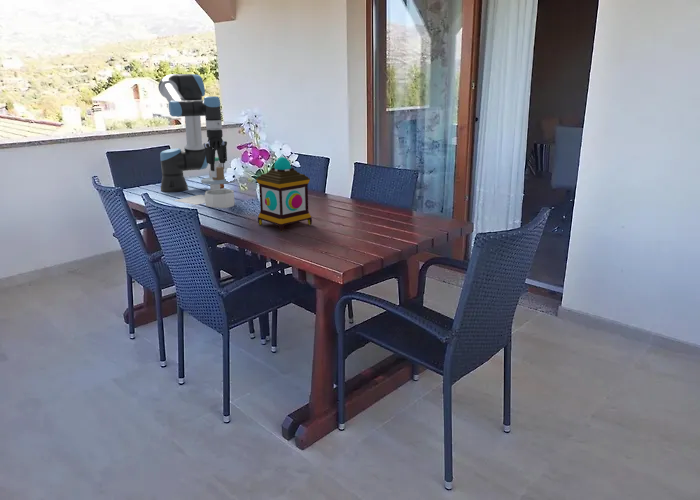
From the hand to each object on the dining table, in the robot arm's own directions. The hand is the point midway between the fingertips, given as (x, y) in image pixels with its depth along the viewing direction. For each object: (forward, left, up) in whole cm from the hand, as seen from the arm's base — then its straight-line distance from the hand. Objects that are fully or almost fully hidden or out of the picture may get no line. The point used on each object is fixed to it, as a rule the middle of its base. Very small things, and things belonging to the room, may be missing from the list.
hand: (218, 176), depth 255 cm
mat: (-18, +1, -15) cm, 24 cm away
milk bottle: (-25, +21, -15) cm, 36 cm away
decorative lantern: (+52, -10, -15) cm, 55 cm away
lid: (0, 0, -3) cm, 3 cm away
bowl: (0, 0, -15) cm, 15 cm away
